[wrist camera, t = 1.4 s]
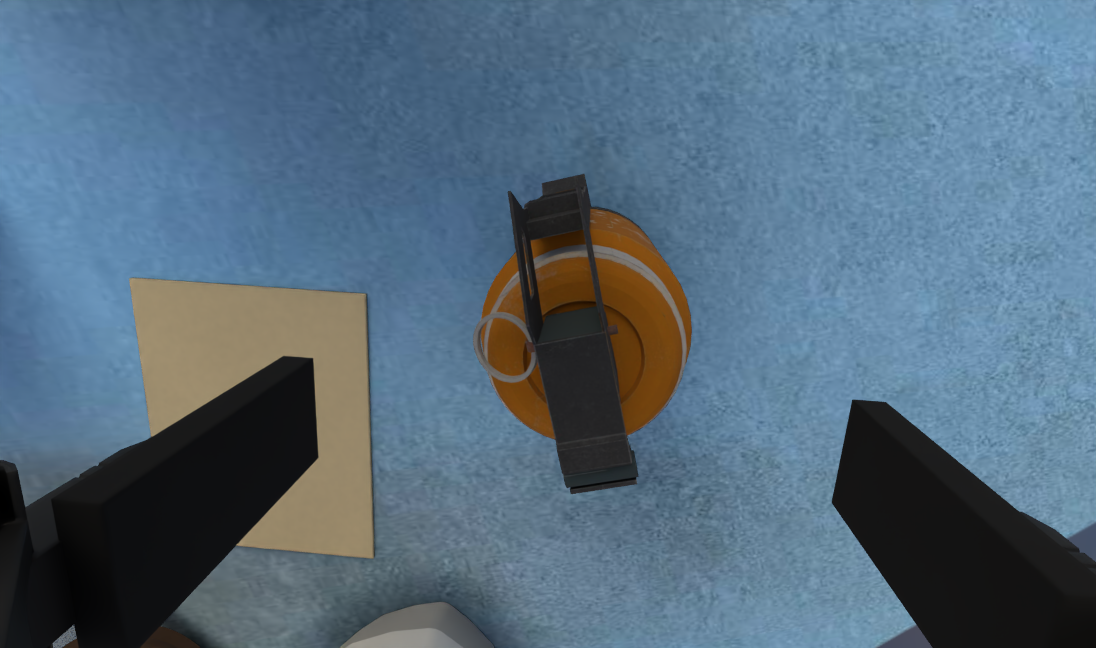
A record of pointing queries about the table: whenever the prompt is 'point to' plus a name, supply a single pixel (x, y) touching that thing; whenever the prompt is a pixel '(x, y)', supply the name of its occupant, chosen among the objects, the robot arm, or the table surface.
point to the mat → (247, 347)
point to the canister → (584, 332)
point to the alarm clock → (158, 640)
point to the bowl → (420, 629)
